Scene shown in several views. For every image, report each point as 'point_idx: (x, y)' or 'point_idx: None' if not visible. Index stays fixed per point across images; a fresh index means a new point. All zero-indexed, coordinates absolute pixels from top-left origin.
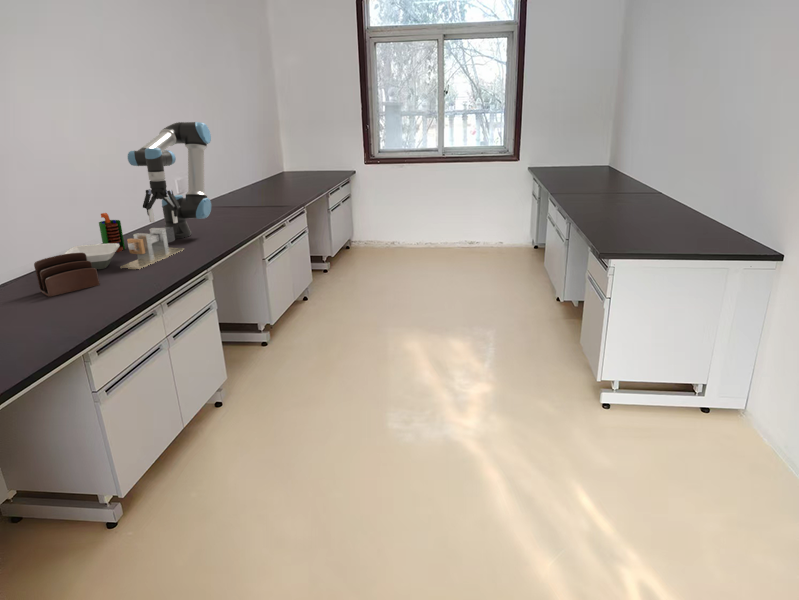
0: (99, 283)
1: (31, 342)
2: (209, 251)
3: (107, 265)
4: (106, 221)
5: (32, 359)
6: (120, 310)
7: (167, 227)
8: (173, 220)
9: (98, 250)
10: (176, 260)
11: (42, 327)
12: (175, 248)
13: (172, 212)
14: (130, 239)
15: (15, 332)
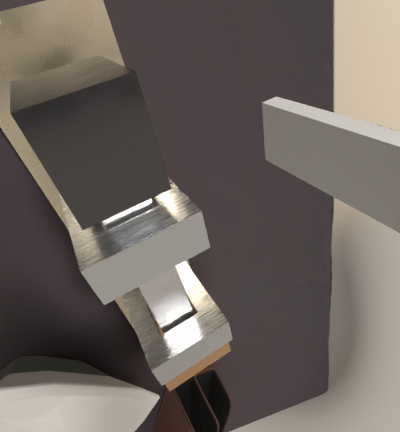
0: (214, 367)
1: (292, 397)
2: None
3: (79, 362)
4: None
5: (315, 389)
6: (318, 339)
7: (99, 125)
8: (292, 168)
9: None
10: (224, 169)
11: (275, 398)
12: (43, 26)
13: (380, 212)
14: (185, 380)
15: (262, 414)
